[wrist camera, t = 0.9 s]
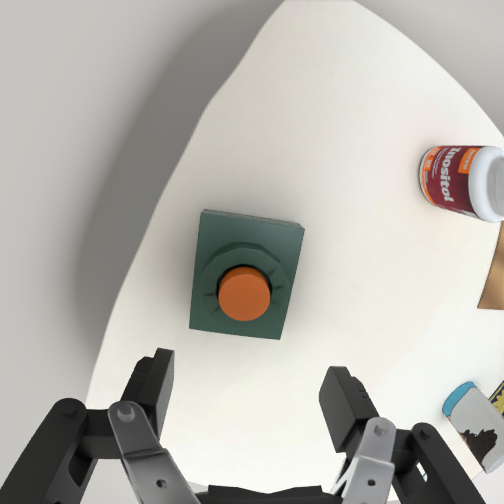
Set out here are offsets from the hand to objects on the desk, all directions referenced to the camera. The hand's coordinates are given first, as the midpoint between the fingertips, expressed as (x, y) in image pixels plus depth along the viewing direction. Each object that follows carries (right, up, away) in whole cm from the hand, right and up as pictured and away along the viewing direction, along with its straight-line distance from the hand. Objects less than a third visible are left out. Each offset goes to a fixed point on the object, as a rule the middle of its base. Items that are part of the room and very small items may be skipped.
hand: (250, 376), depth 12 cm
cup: (+33, -18, +21) cm, 43 cm away
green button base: (-1, +4, +13) cm, 14 cm away
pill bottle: (+19, +13, +12) cm, 26 cm away
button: (-1, +3, +10) cm, 10 cm away
